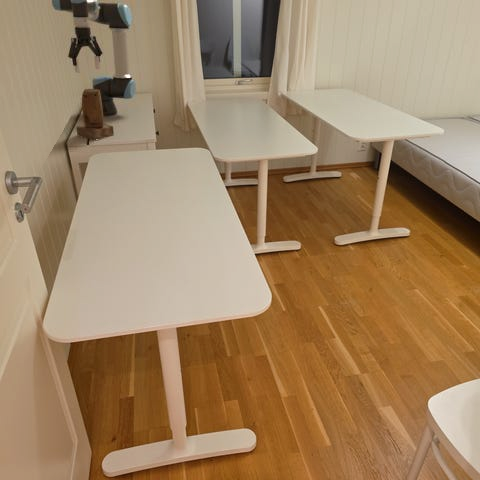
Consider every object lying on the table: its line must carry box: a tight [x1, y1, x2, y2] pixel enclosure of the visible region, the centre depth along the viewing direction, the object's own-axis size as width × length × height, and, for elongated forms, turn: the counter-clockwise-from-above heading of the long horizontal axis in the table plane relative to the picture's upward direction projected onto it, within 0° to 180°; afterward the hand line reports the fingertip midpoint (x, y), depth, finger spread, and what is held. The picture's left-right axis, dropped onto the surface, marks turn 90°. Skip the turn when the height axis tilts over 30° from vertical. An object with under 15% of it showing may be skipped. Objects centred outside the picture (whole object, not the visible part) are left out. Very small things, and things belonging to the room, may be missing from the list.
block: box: [81, 88, 105, 128], centre depth 247 cm, size 11×8×20 cm
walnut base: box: [75, 123, 115, 141], centre depth 253 cm, size 14×14×5 cm
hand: (87, 70), depth 237 cm, fingers open, 13 cm apart
